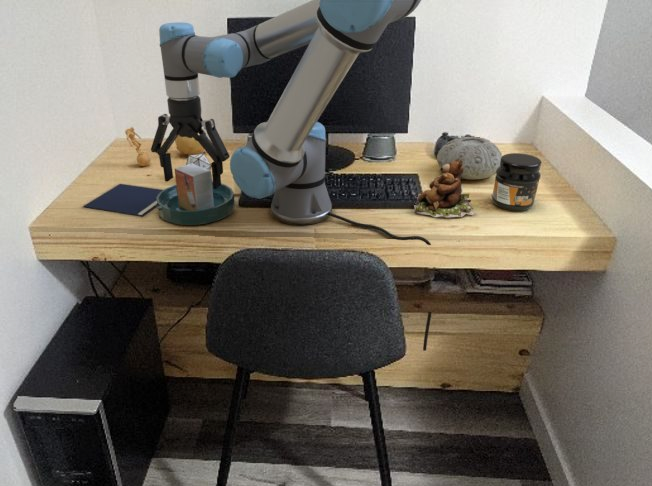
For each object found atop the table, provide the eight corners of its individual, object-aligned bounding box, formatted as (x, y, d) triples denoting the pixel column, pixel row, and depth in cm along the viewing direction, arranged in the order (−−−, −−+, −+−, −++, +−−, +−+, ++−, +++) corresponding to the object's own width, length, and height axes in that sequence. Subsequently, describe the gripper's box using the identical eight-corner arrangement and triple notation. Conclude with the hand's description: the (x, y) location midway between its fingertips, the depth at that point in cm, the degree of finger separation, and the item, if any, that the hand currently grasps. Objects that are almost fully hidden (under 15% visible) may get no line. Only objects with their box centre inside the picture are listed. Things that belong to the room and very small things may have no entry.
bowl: (246, 200, 146) (245, 185, 144) (213, 231, 131) (211, 216, 128) (183, 191, 152) (181, 177, 149) (143, 220, 136) (141, 205, 134)
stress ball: (180, 149, 181) (176, 119, 176) (209, 149, 181) (206, 119, 176) (174, 160, 173) (169, 128, 168) (205, 159, 173) (201, 128, 168)
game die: (205, 194, 159) (205, 175, 150) (177, 182, 159) (177, 163, 149) (217, 170, 163) (219, 151, 153) (191, 159, 162) (191, 139, 153)
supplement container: (494, 211, 138) (502, 165, 132) (487, 194, 147) (495, 151, 141) (537, 213, 137) (548, 167, 131) (528, 196, 146) (538, 152, 140)
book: (175, 192, 151) (175, 191, 150) (142, 216, 138) (142, 215, 138) (120, 184, 156) (119, 183, 156) (83, 207, 143) (83, 205, 143)
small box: (178, 207, 142) (173, 168, 136) (196, 200, 145) (192, 162, 139) (197, 216, 137) (192, 176, 131) (215, 209, 140) (211, 170, 135)
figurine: (147, 170, 165) (140, 131, 159) (127, 170, 165) (120, 131, 159) (154, 161, 172) (148, 123, 166) (135, 161, 172) (128, 123, 166)
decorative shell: (444, 186, 152) (448, 151, 147) (429, 163, 168) (432, 131, 162) (507, 184, 153) (514, 149, 148) (487, 162, 168) (492, 130, 163)
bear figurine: (408, 196, 147) (413, 152, 141) (465, 197, 146) (472, 152, 140) (414, 218, 135) (419, 171, 129) (476, 219, 134) (484, 172, 128)
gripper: (239, 97, 126) (244, 184, 137) (145, 88, 133) (157, 171, 144) (225, 105, 120) (231, 195, 131) (127, 95, 127) (141, 181, 138)
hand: (193, 183), depth 137 cm, fingers open, 13 cm apart
